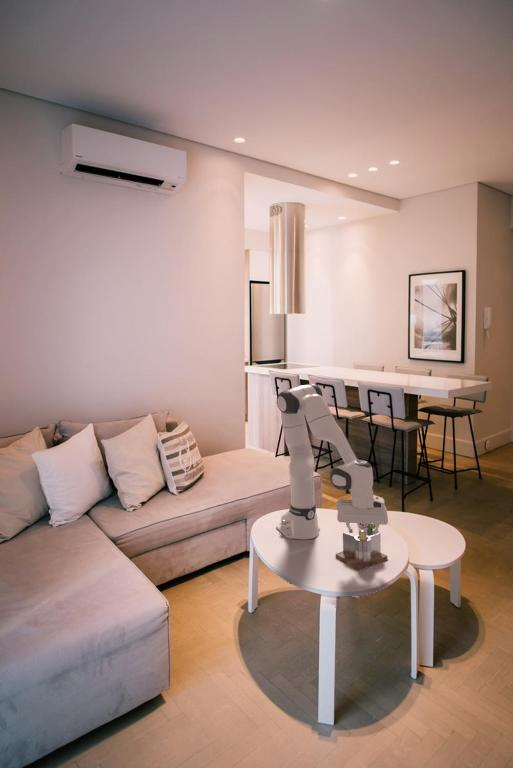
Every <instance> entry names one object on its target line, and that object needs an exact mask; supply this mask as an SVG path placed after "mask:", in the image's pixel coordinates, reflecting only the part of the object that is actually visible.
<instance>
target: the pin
mask: <svg viewBox="0 0 513 768" xmlns="http://www.w3.org/2000/svg"><path fill="white" fill-rule="evenodd" d="M364 529H365V528H360V529H359V530H358V535H359V539H360V540H366V530H364Z"/></svg>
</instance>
